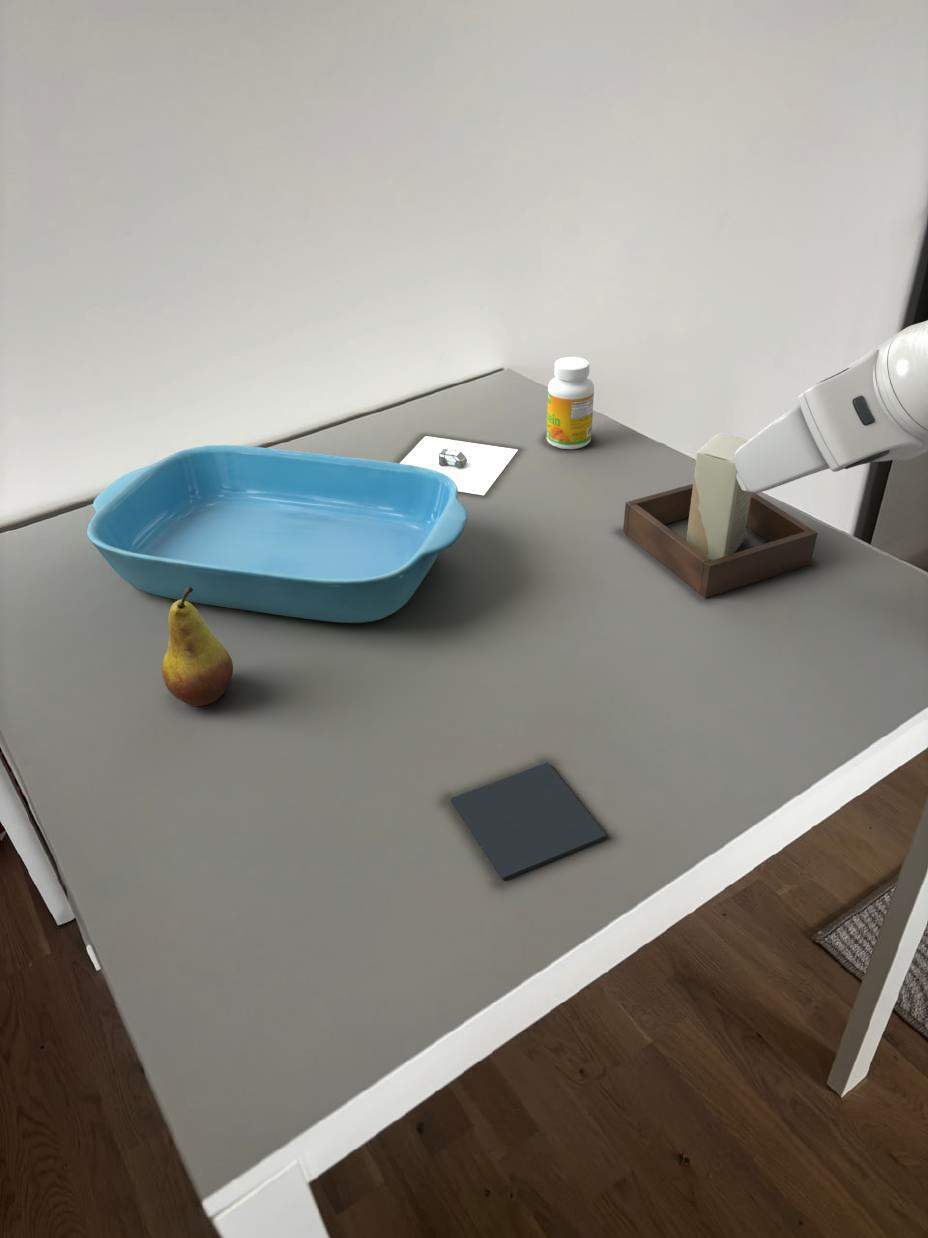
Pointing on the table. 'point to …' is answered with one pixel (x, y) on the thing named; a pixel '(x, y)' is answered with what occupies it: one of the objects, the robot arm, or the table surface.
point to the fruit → (194, 657)
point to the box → (717, 500)
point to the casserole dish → (278, 530)
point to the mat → (527, 820)
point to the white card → (461, 462)
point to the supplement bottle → (570, 404)
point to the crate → (713, 577)
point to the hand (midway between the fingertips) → (782, 466)
